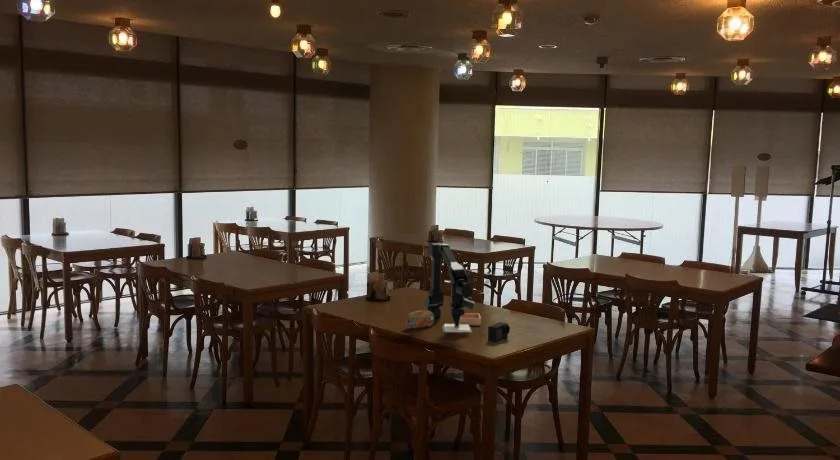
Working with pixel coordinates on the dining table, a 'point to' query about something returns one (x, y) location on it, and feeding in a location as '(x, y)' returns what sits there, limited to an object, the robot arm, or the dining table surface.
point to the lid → (457, 327)
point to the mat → (458, 332)
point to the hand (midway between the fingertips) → (456, 325)
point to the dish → (471, 319)
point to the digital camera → (498, 331)
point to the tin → (420, 319)
